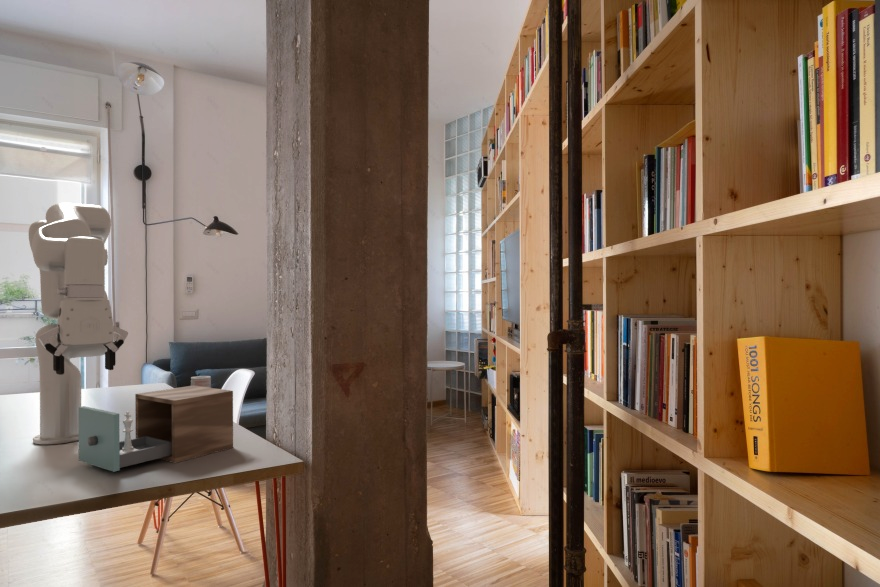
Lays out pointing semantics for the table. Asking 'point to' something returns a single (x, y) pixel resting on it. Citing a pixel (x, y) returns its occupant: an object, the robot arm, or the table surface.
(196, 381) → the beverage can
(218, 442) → the cabinet
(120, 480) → the table surface
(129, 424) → the chess piece
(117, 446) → the drawer
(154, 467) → the table surface
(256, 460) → the table surface
